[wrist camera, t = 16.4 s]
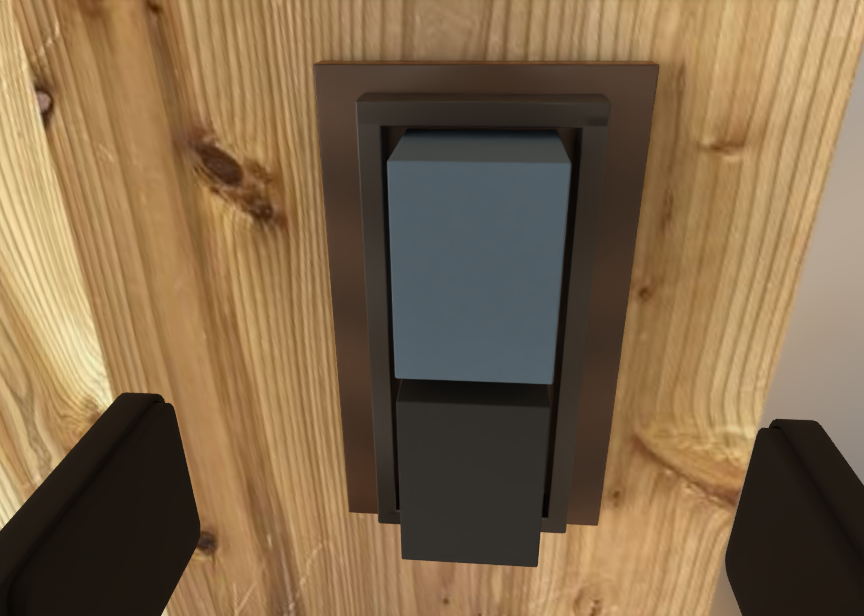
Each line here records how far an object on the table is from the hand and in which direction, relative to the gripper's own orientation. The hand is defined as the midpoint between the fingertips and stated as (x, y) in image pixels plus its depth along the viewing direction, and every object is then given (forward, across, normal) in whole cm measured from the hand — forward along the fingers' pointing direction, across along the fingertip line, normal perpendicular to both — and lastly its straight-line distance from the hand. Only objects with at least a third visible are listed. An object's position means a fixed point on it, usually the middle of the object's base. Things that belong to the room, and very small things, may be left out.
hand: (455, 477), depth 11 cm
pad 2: (+14, 0, +9) cm, 16 cm away
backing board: (+15, 0, +5) cm, 16 cm away
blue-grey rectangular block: (+14, 0, +1) cm, 14 cm away
